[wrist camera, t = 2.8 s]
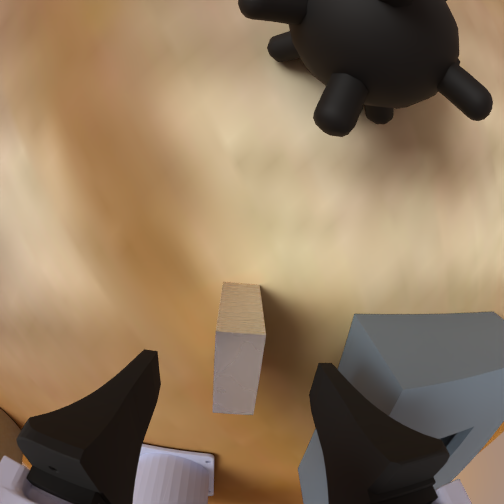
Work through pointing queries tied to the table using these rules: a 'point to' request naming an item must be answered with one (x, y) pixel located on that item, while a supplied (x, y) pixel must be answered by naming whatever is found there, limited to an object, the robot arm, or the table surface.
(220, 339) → the wooden block
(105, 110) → the table surface
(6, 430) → the plant pot
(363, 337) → the grey square hole block
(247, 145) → the table surface
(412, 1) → the toy ball
